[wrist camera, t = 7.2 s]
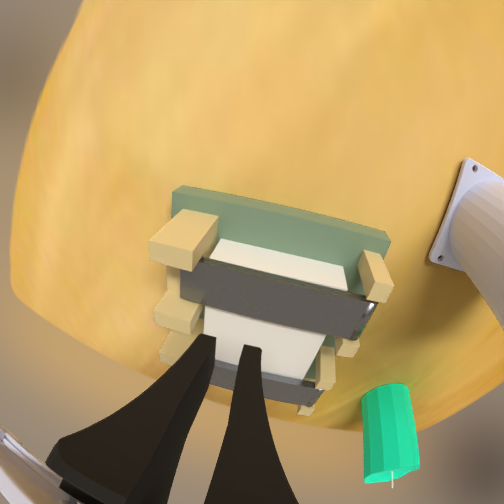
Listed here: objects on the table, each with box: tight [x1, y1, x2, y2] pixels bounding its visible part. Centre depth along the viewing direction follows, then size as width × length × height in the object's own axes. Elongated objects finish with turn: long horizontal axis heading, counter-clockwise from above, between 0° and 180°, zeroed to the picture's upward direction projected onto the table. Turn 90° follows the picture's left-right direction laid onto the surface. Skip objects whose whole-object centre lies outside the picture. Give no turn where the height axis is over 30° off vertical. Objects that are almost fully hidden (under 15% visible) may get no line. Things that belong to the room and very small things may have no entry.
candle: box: [361, 384, 420, 488], centre depth 20 cm, size 6×6×12 cm
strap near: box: [180, 256, 378, 341], centre depth 15 cm, size 11×3×1 cm, turn 80°
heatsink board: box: [149, 186, 394, 416], centre depth 19 cm, size 14×17×6 cm
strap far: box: [209, 359, 324, 407], centre depth 20 cm, size 11×3×1 cm, turn 80°
